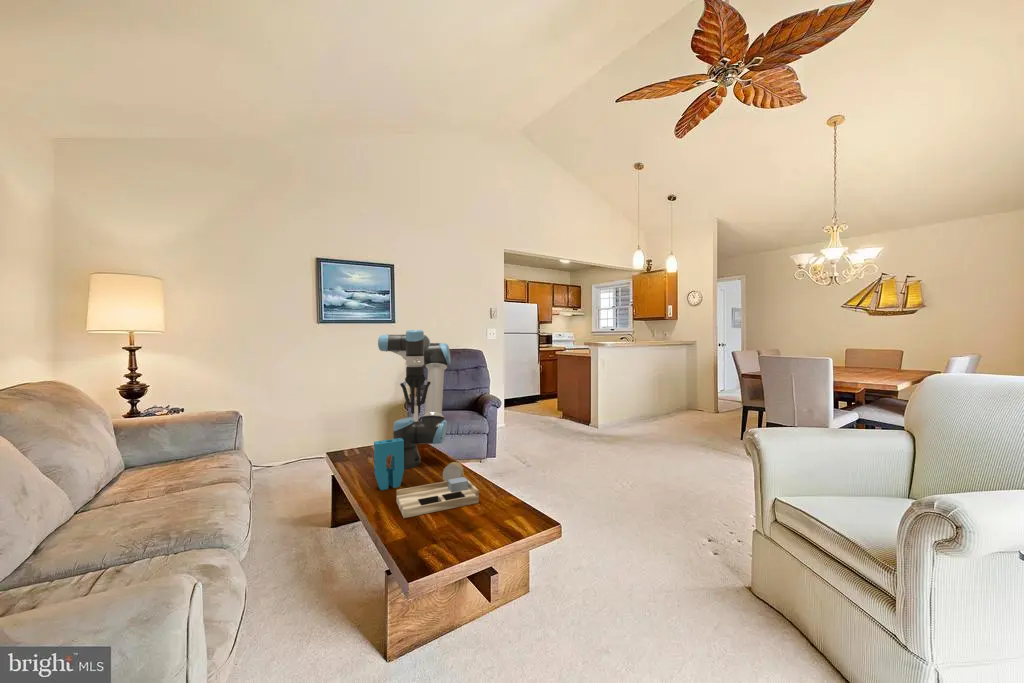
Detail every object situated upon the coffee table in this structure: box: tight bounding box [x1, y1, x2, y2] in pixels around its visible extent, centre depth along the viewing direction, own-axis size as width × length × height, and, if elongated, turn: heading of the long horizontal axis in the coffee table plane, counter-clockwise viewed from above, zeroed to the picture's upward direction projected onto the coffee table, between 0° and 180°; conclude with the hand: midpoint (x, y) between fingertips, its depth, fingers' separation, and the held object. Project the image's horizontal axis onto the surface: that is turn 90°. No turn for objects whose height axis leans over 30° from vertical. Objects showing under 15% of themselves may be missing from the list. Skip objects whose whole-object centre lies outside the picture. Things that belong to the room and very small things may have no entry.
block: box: [448, 476, 469, 493], centre depth 162 cm, size 5×7×4 cm
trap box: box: [396, 477, 480, 519], centre depth 155 cm, size 15×29×5 cm, turn 116°
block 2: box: [373, 438, 405, 491], centre depth 172 cm, size 12×5×20 cm, turn 119°
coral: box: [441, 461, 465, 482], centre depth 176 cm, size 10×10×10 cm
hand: (415, 420), depth 169 cm, fingers closed
